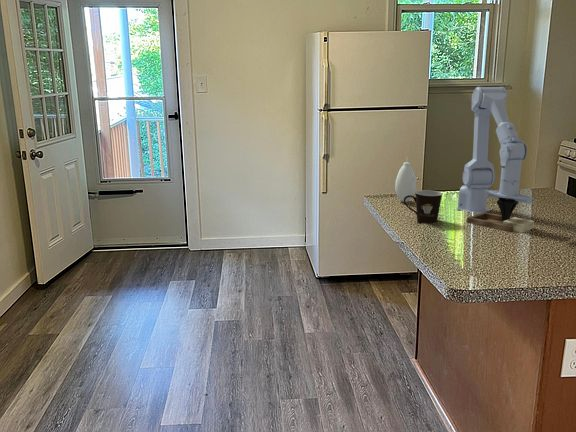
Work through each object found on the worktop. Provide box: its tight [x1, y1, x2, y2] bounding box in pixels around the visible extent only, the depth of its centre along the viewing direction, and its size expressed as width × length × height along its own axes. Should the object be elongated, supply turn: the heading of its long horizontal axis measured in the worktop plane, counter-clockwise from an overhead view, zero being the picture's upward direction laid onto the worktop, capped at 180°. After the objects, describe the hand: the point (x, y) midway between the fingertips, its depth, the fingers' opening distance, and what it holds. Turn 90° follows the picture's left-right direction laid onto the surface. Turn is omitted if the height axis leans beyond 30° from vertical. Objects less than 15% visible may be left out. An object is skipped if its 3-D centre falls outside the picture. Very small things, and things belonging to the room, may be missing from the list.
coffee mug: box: [403, 189, 443, 224], centre depth 181 cm, size 12×9×10 cm
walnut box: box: [466, 211, 514, 233], centre depth 177 cm, size 15×11×2 cm
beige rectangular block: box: [503, 216, 535, 234], centre depth 172 cm, size 6×8×2 cm
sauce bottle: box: [394, 155, 417, 203], centre depth 208 cm, size 8×8×18 cm
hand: (505, 221), depth 175 cm, fingers closed
